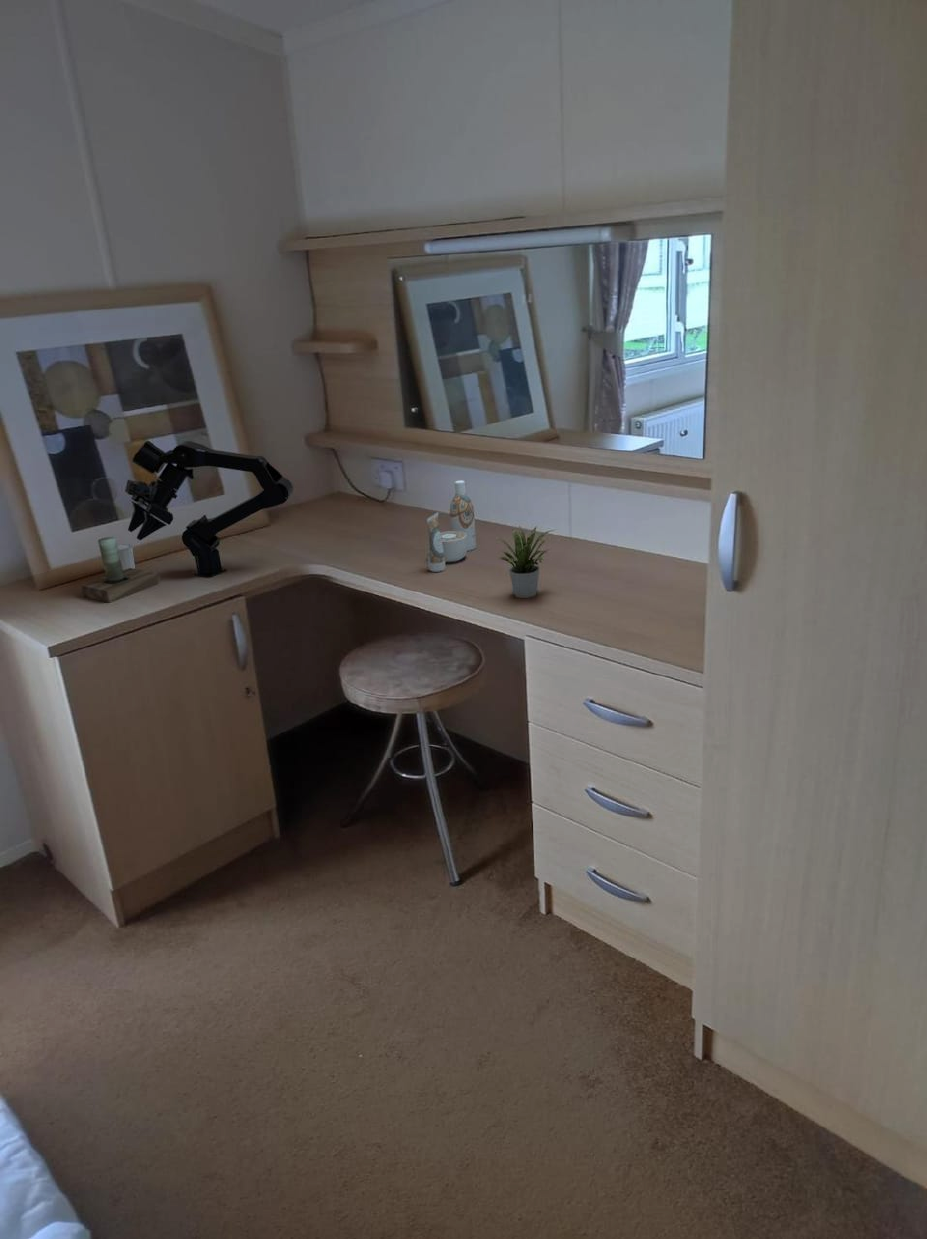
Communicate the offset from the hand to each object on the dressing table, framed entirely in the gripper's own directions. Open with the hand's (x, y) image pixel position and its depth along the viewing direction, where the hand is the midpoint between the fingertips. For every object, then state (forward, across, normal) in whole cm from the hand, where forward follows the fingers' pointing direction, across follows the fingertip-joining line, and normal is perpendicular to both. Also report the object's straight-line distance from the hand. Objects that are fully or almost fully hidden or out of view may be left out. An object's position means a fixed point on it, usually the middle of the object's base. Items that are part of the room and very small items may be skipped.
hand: (133, 535), depth 228 cm
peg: (+14, 0, +5) cm, 15 cm away
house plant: (-40, +76, +59) cm, 104 cm away
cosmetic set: (-40, +40, +60) cm, 82 cm away
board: (+14, 0, +5) cm, 15 cm away
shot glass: (+11, -16, +9) cm, 21 cm away
